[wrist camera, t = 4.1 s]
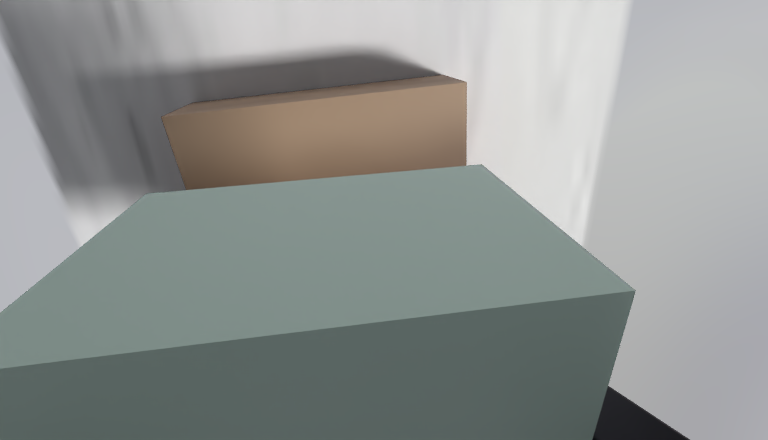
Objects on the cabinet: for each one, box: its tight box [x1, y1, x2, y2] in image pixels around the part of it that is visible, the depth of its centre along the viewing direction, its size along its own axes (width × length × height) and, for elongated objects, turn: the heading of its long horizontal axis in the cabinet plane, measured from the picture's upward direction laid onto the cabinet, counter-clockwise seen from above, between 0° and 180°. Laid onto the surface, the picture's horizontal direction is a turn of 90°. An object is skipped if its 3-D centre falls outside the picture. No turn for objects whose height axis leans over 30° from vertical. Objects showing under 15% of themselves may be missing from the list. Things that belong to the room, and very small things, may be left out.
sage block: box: [0, 164, 636, 440], centre depth 7 cm, size 7×6×4 cm
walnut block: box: [161, 75, 467, 190], centre depth 15 cm, size 8×10×3 cm
